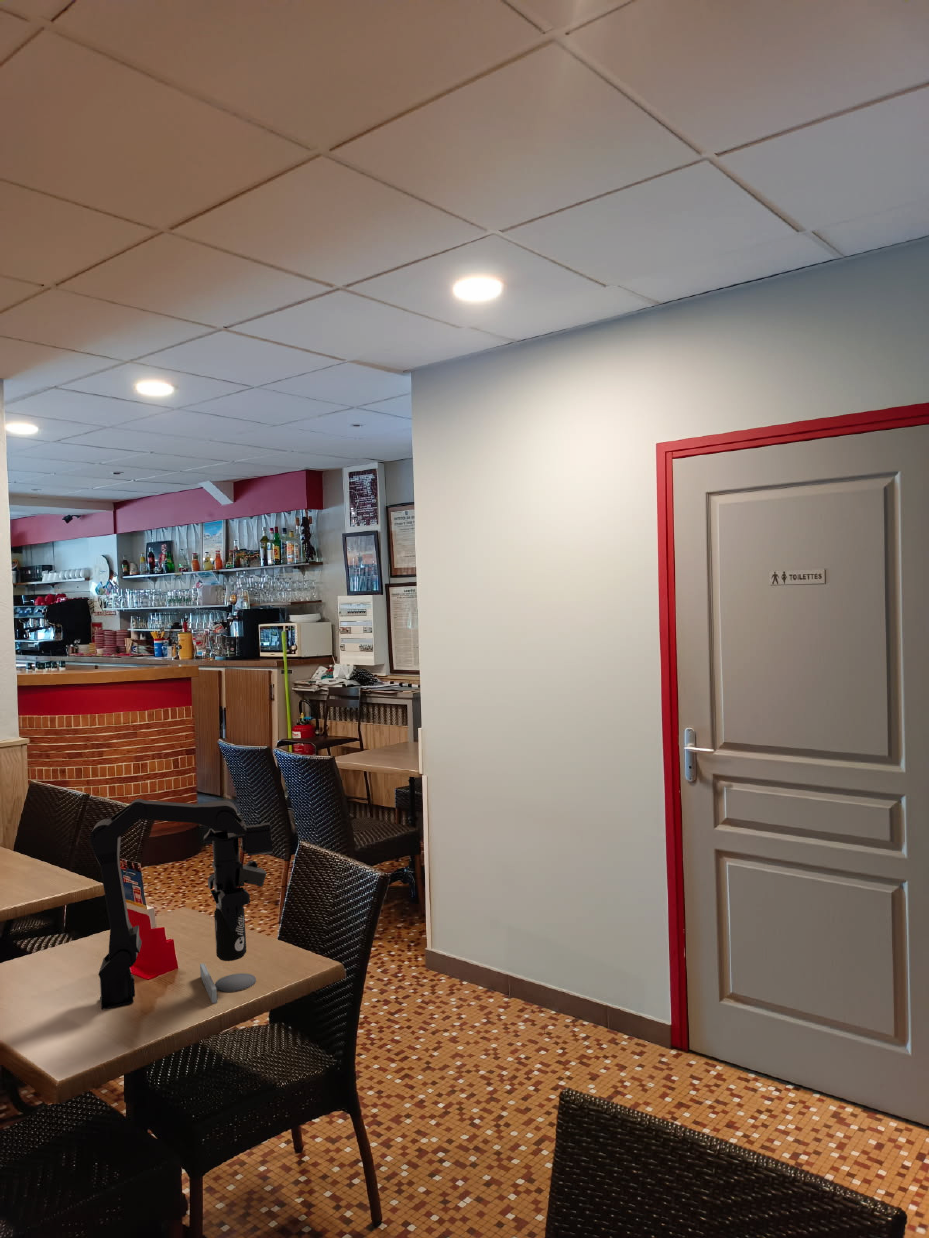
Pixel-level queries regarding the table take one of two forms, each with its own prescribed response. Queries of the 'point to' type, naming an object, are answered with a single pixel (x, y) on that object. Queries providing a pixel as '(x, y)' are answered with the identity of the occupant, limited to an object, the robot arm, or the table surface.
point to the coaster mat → (235, 982)
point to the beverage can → (229, 937)
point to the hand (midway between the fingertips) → (230, 926)
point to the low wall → (208, 983)
